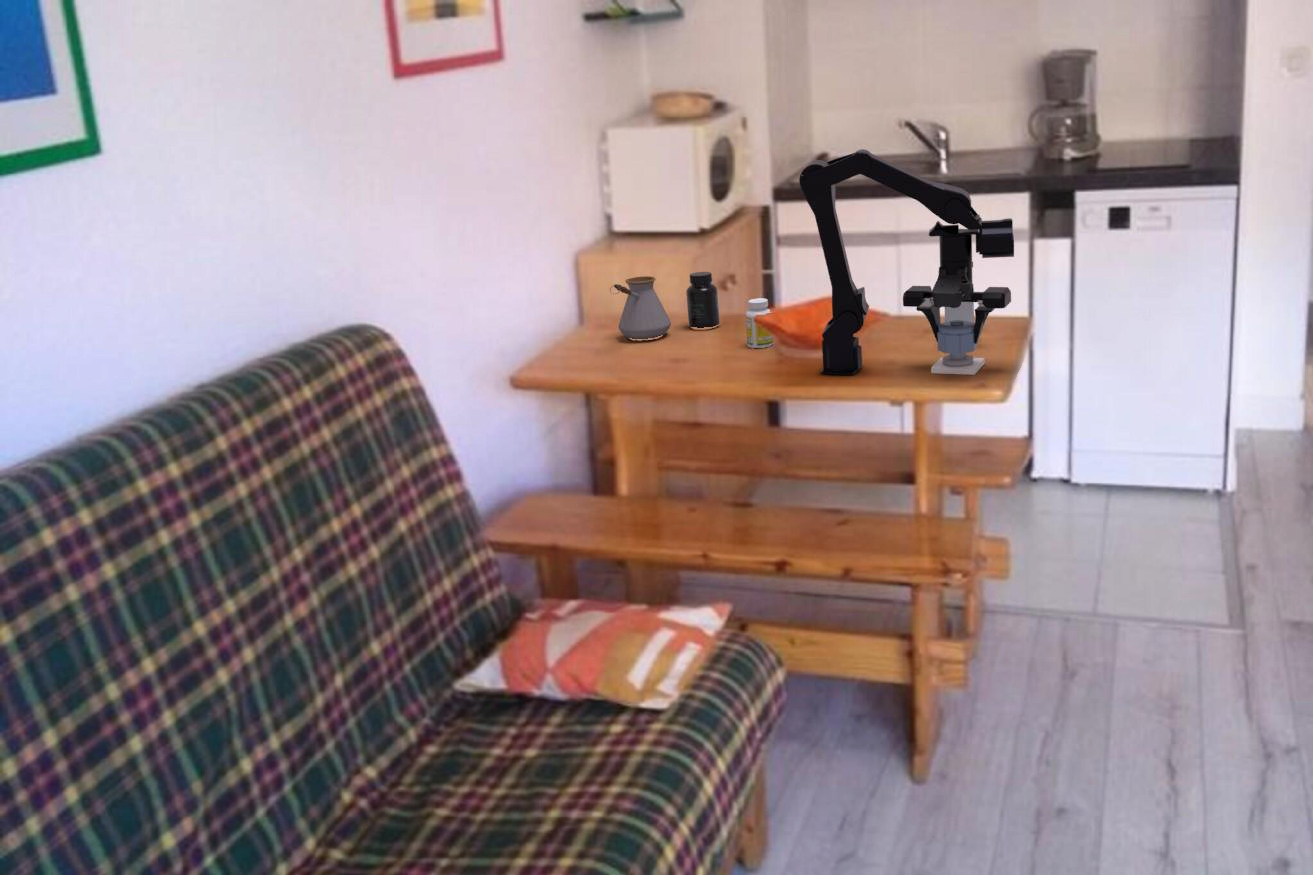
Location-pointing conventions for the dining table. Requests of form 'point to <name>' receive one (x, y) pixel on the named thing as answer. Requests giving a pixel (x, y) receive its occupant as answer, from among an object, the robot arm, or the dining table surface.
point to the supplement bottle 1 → (702, 301)
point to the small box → (960, 312)
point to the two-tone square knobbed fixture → (958, 364)
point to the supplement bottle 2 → (754, 332)
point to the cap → (956, 337)
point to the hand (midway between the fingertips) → (957, 342)
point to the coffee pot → (642, 310)
